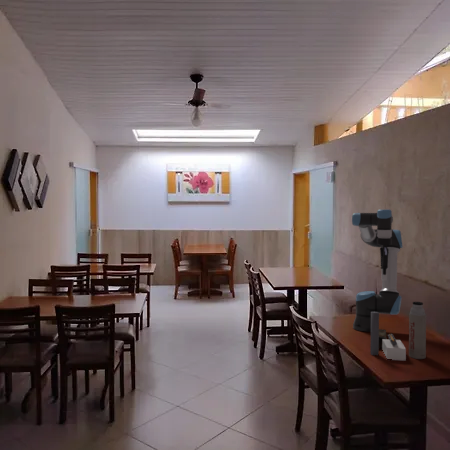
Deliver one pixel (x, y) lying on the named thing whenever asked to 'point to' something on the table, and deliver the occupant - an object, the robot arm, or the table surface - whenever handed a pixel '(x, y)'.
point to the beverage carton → (381, 336)
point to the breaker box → (394, 350)
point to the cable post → (374, 333)
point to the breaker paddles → (392, 339)
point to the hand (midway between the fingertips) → (384, 280)
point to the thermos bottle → (417, 331)
